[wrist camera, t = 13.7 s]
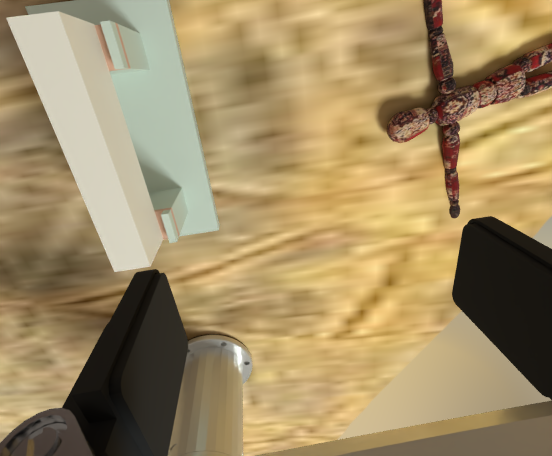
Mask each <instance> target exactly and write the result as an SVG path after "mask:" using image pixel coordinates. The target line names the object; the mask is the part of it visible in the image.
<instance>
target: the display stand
mask: <svg viewBox="0 0 552 456" xmlns="http://www.w3.org/2000/svg"><path fill="white" fill-rule="evenodd" d="M25 8H26V10H27V13H28V15H32V14H40V13H48V12H56V11H59V12H62V13H65V14H67V15H70V16H73V17H76V18H79V19H81V20H84V21H87V22H90V23H92V24H94V25H95V28H96V32H97V35H98V38H99V41H100V44H101V47H102V50H103V53H104V56H105V59H106V63H107V66H108V69H109V72H110V75H111V78H112V81H113V84H114V87H115V90H116V93H117V97H118V100H119V103H120V106H121V109H122V112H123V115H124V118H125V121H126V124H127V128H128V131H129V134H130V137H131V140H132V143H133V146H134V149H135V152H136V155H137V159H138V162H139V165H140V168H141V171H142V174H143V177H144V180H145V183H146V186H147V189H148V193H149V196H150V199H151V202H152V205H153V208H154V211H155V214H156V217H157V220H158V224H159V227H160V230H161V233H162V236H163V239H169V243H173V242H177V240H178V238H179V236H185V235H191V234H197V233H204V232H210V231H217V230H219V226H220V225H219V220H218V216H217V211H216V207H215V202H214V198H213V194H212V189H211V185H210V180H209V176H208V171H207V167H206V162H205V158H204V154H203V149H202V145H201V140H200V136H199V131H198V127H197V122H196V118H195V114H194V109H193V105H192V100H191V96H190V91H189V87H188V82H187V78H186V74H185V69H184V65H183V60H182V56H181V51H180V47H179V43H178V38H177V34H176V29H175V25H174V20H173V16H172V11H171V7H170V3H169V0H74V1H66V2H58V3H50V4H42V5H33V6H25Z"/></svg>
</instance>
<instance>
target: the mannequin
mask: <svg viewBox="0 0 552 456" xmlns="http://www.w3.org/2000/svg"><path fill="white" fill-rule="evenodd" d="M424 9H425V16H426V23H427V28H428V30H430V31H429V37H430V38H431V39H430V40H429V41H430V49H431V57H432V64H433V72H434V74H435V77H436V79H437V81H438V82H439V84H438V91H439V92H440V93H441V94H442V95H440V96H438V97H437V98H435V100H434V102H433V103H432V107H431V108H428V109H426V110H425V109H423V108H415V109H411V110H407V111H403V112H399V113H397V114H396V115H394V116H393V117H392V118H391V120H390V121H389V123H388V126H387V133H388V136H389V138H390V139H391V140H393V141H395V142H398V143H402V142H407V141H409V140H411V139H413V138H414V137H416V136H418V135H419V134H421V133H423V132H424V131H425V130H426V129H427V128H428V126H429V124H432V123H434V122H435V123H437V124H438V125H440V126H443V133H444V134H445V135H444V137H443V142H442V150H443V160H444V167H445V172H446V174H445V181H446V190H447V194H448V198H449V200H450V205H451V207H450V215H451V217H452V218H457V217H458V216H459V214H460V206H459V205H458V202H459V201H458V199H459V180H458V173H457V171H456V166H457V160H458V153H459V146H460V139H459V134H458V132H459V130H460V125H459V123H457V121H459V120H461V119H462V118H464V117H466V116H467V115H469V114H471V113H473V112H474V111H475V110H476V109H477V108H483V107H485V106H488V105H489V104H491V105H492V104H497V103H503V102H507V101H510V100H512V99H514V98H522V97H525V96H527V97H528V96H532V95H534V94H537V93H540V92H542V91H545V90H548V89H550V88H552V72H548V73H544V74H541V75H538V76H534V77H531V78H527V79H526V77H525V73H526V72H530V71H533V70H535V69H537V68H539V67H541V66H543V65H545V64H547V63H549V62H551V61H552V43H551V44H549V45H546V46H544V47H541V48H539V49H536V50H534V51H531V52H529V53H527V54H525V55H524V56H523V57H521V58H518V59H516V60H515V61H514V62H513V63H512V65H508V66H506V67H503V68H501V69H499V70H497V71H496V72H494V73H493V74H491V75H490V76H488V77H487V78H486V79H485V80H484V81H480V82H478V83H475V84H474V85H473V86H466V87H462V88H458V89H455V88H456V81H455V80H454V79H453V78H451V77H452V76H453V62H452V58H451V55H450V52H449V48H448V45H447V42H446V38H445V35H444V33H442V32H443V28H442V24H443V14H442V0H424Z"/></svg>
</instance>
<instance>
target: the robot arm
mask: <svg viewBox="0 0 552 456" xmlns="http://www.w3.org/2000/svg"><path fill="white" fill-rule="evenodd" d="M452 296H453V300H454V302H455V304H456V305H457V306H458V307H459V308H460V309H461V310H462V311H463V312H464V313H465V314H466V315H467V316H468V317H469V319H471V321H472V322H473V323H475V325H476V326H477V327H478V328H479V329H480V330H481V331H482V332H483V333H484V334H485V335H486V336H487V337H488V338H489V340H490V341H491V342H492V343H493V344H494V345H495V346H496V347H497V348H498V349H499V350H500V351H501V352H502V353H503V354H504V355H505V356H506V357H507V358H508V360H509V361H510V362H511V363H512V364H513V365H514V366H515V367H516V368H517V369H518V370H519V371H520V372H521V373H522V374H523V375H524V376H525V377H526V379H528V381H529V382H530V383H531V384H532V385H533V386H534V387H535V388H536V389H537V390H538V391H539V392H540V393H541V394H542V395H544V396H546V397H549V398H550V399H551V400H552V249H551V248H549V247H547V246H545V245H543V244H542V243H539V242H538V241H536V240H534V239H533V238H531V237H529V236H527V235H525V234H523V233H522V232H520V231H518V230H516V229H514V228H513V227H511V226H509V225H507V224H505V223H504V222H502V221H500V220H498V219H496V218H495V217H492V216H490V217H483V218H476V219H471V220H470V221H469V222H468V224H467V225H465V226H464V228H463V232H462V238H461V244H460V250H459V256H458V262H457V268H456V273H455V279H454V285H453V291H452ZM251 372H252V358H251V354H250V352H249V351H248V349H247V348H246V347H245V346H244V345H243V344H242V343H240V342H239V341H237V340H235V339H233V338H230V337H226V336H221V335H206V336H200V337H197V338H194V339H191V340H189V341H188V339H187V336H186V333H185V330H184V327H183V324H182V321H181V318H180V315H179V312H178V309H177V306H176V303H175V300H174V297H173V294H172V291H171V289H170V286H169V283H168V280H167V277H166V275H165V273H159V271H158V270H156V269H154V270H148V271H142V272H137V273H136V274H135V275H134V277H133V279H132V281H131V283H130V284H129V286H128V288H127V290H126V292H125V294H124V296H123V298H122V300H121V301H120V303H119V305H118V307H117V309H116V311H115V313H114V315H113V316H112V318H111V320H110V322H109V323H108V324H107V325H106V327H105V329H104V331H103V332H102V334H101V336H100V338H99V340H98V342H97V344H96V345H95V347H94V349H93V351H92V353H91V355H90V357H89V359H88V360H87V362H86V364H85V366H84V368H83V370H82V372H81V373H80V375H79V377H78V379H77V381H76V383H75V385H74V386H73V388H72V390H71V392H70V394H69V396H68V398H67V400H66V401H65V403H64V405H63V407H62V408H54V409H49V410H46V411H43V412H40V413H38V414H36V415H34V416H33V417H31V418H29V419H27V420H26V421H24V422H23V423H22V424H20V425H19V426H18V427H16V428H15V429H14V430H13V431H12V432H11V433H10V434H9V435H8V436H7V437H6V438H5V439H4V440H3V441H2V442H1V443H0V456H243V384H244V383H245V382H246V381H247V379H248V378H249V377H250V374H251ZM257 456H552V401H548V402H542V403H536V404H530V405H525V406H519V407H514V408H508V409H502V410H497V411H491V412H486V413H481V414H475V415H470V416H464V417H459V418H453V419H448V420H442V421H437V422H432V423H426V424H421V425H415V426H410V427H405V428H399V429H394V430H388V431H383V432H378V433H372V434H367V435H362V436H357V437H351V438H346V439H340V440H335V441H330V442H325V443H319V444H314V445H309V446H304V447H299V448H293V449H288V450H283V451H278V452H272V453H267V454H262V455H257Z"/></svg>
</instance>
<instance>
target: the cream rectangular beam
mask: <svg viewBox="0 0 552 456" xmlns="http://www.w3.org/2000/svg"><path fill="white" fill-rule="evenodd" d="M6 19H7V21H8V23H9V26H10V28H11V31H12V33H13V35H14V38H15V40H16V42H17V45H18V47H19V49H20V52H21V54H22V56H23V59H24V61H25V63H26V66H27V68H28V70H29V73H30V75H31V77H32V80H33V82H34V84H35V87H36V89H37V91H38V94H39V96H40V98H41V101H42V103H43V105H44V108H45V110H46V113H47V115H48V117H49V120H50V122H51V124H52V127H53V129H54V131H55V134H56V136H57V138H58V141H59V143H60V145H61V148H62V150H63V152H64V155H65V157H66V159H67V162H68V164H69V166H70V169H71V171H72V173H73V176H74V178H75V180H76V183H77V185H78V187H79V190H80V192H81V194H82V197H83V199H84V202H85V204H86V206H87V209H88V211H89V213H90V216H91V218H92V220H93V223H94V225H95V227H96V230H97V232H98V234H99V237H100V239H101V241H102V244H103V246H104V248H105V251H106V253H107V255H108V258H109V260H110V262H111V265H112V267H113V269H114V272H118V271H125V270H131V269H137V268H144V267H150V266H151V264H152V262H153V260H154V258H155V256H156V254H157V251H158V249H159V247H160V245H161V243H162V241H163V236H162V233H161V230H160V227H159V224H158V220H157V217H156V214H155V211H154V208H153V205H152V202H151V199H150V196H149V193H148V189H147V186H146V183H145V180H144V177H143V174H142V171H141V168H140V165H139V162H138V159H137V155H136V152H135V149H134V146H133V143H132V140H131V137H130V134H129V131H128V128H127V124H126V121H125V118H124V115H123V112H122V109H121V106H120V103H119V100H118V97H117V93H116V90H115V87H114V84H113V81H112V78H111V75H110V72H109V69H108V66H107V63H106V59H105V56H104V53H103V50H102V47H101V44H100V41H99V38H98V35H97V32H96V28H95V25H94V24H92V23H90V22H87V21H84V20H81V19H79V18H76V17H73V16H70V15H67V14H65V13H62V12H59V11H56V12H48V13H40V14H32V15H24V16H15V17H7V18H6Z"/></svg>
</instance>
